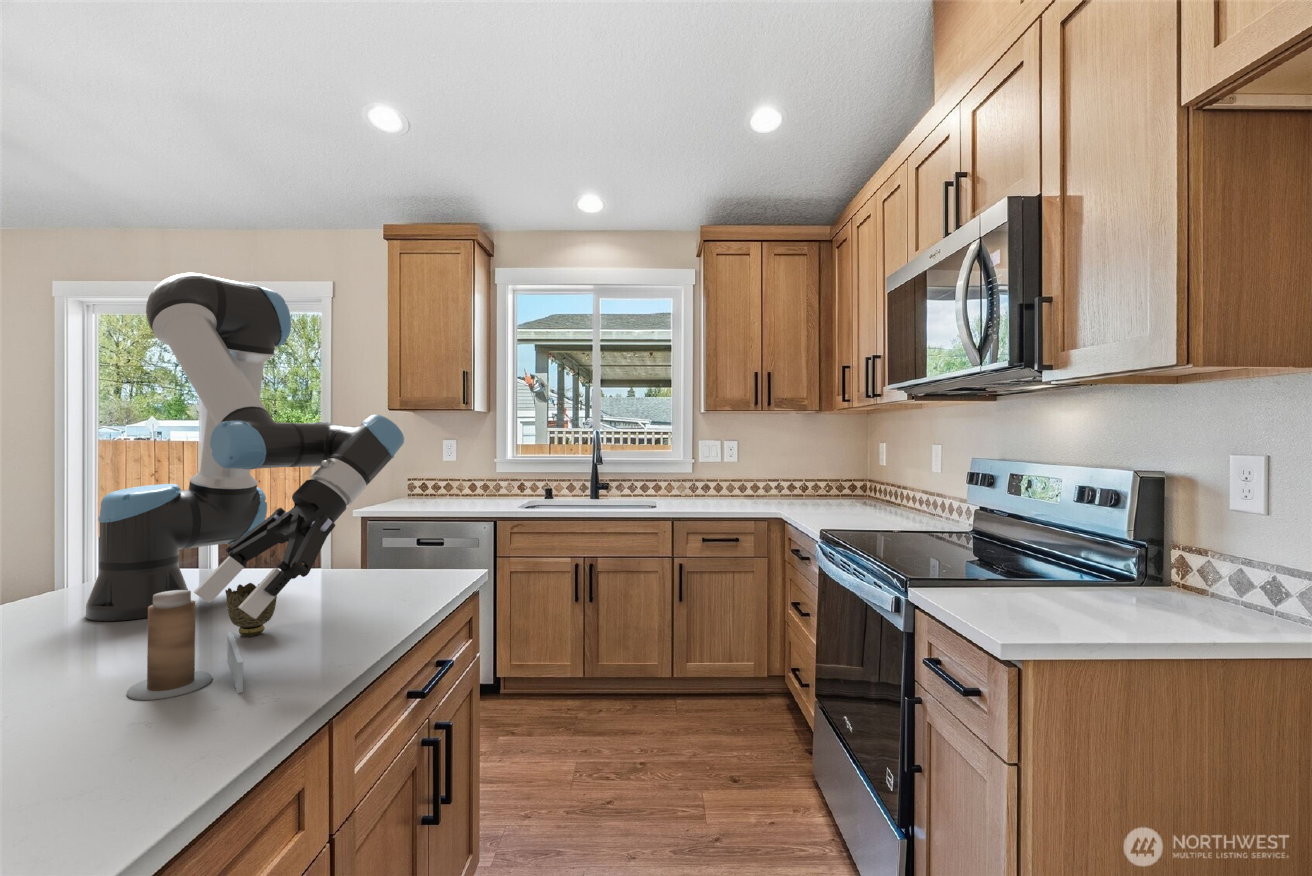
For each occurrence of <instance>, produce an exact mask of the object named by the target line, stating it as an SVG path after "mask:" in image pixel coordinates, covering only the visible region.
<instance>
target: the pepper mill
mask: <svg viewBox="0 0 1312 876" xmlns="http://www.w3.org/2000/svg"><path fill="white" fill-rule="evenodd" d="M191 595H192V591H191V590H189V589H188V590H173V591H166V592H161V593H157V594H154V595H153V605H151V606H149V607H148V617H147V646H146V647H147V650H146V651H147V652H146V653H147V656H146V658H147V659H146V663H147V664H146V669H147V671H146V672H147V673H146V680H147V689H148V690H150V691H166V690H172V689H176V688H180V687H183V686H186V685H188V684H190V683H192V682H193V681H194V680H195V671H196V670H195V668H196V667H195V665H196V664H195V663H196V660H195V659H196V655H195V654H196V653H195V652H196V601H195V600H192V596H191Z"/></svg>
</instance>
